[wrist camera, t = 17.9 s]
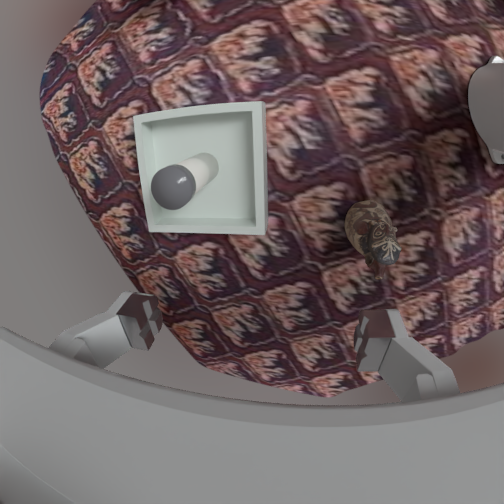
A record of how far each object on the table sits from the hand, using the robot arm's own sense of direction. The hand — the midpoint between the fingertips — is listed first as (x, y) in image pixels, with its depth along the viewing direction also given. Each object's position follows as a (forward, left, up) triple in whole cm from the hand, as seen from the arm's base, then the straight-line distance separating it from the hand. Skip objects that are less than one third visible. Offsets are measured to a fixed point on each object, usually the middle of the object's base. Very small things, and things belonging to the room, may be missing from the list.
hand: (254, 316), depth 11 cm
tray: (+12, 0, -31) cm, 33 cm away
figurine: (-12, +8, -31) cm, 34 cm away
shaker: (+12, 0, -30) cm, 32 cm away
